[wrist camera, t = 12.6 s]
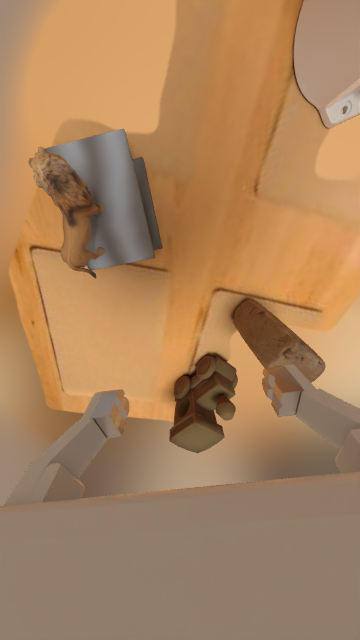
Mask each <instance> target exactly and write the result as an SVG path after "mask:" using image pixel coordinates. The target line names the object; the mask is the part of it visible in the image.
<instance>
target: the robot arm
mask: <svg viewBox="0 0 360 640" xmlns="http://www.w3.org/2000/svg"><path fill="white" fill-rule="evenodd" d="M294 67H295V74H296V78H297V82H298V85H299V87H300V90H301V91H302V93H303V95H304V96H305V98H306V99H307V100H308V101H309V102H310V103H312V104H313V105H314V106H315V107H316V108H317V109H318V110H319V112H320V115H321V118H322V121H323V123H324V125H325V126H326V127H327V128H332V127H334V126H336V125H338V124H341V123H343V122H345V121H347V120H349V119H351V118H353V117H355V116H357V115H359V114H360V0H304V2H303V5H302V8H301V11H300V15H299V19H298V23H297V28H296V34H295V42H294ZM342 109H343V114H342ZM263 375H264V378H263V379H262V385H263V389H264V392H265V394H266V396H267V397H268V398H270V399H271V400H272V406H273V408H274V410H275V412H276V413H277V415H278V417H281V416H292V415H296V417H298V418H299V419H300V420H302V421H303V422H304V423H305V424H307V425H308V426H309V427H310V428H312V429H313V430H314V431H315V432H317V433H318V434H319V435H321V436H322V437H323V438H325V439H326V440H327V441H328V442H330V443H331V444H332V445H333V446H335V447H336V448H337V449H338V450H340V451H339V453H338V455H337V457H336V459H335V464H336V465H337V467H338V468H339V469H340V471H341V473H340V474H330V475H320V476H310V477H300V478H290V479H289V478H288V479H278V480H268V481H257V482H247V483H237V484H227V485H216V486H207V487H196V488H185V489H175V490H164V491H155V492H145V493H134V494H123V495H114V496H104V497H93V498H83V499H81V498H82V495H83V492H84V489H85V487H84V485H83V484H82V483H81V482H80V481H79V480H78V478H79V477H80V476H81V474H82V473H83V472H84V470H85V469H86V467H87V466H88V465H89V463H90V462H91V461H92V459H93V458H94V457H95V455H96V454H97V453H98V451H99V450H100V448H101V447H102V446H103V444H104V443H105V442H106V440H107V438H112V437H119V436H122V434H123V431H124V427H125V421H124V419H125V418H126V417H127V416H128V412H129V401H128V399H127V398H126V397H124V394H125V393H124V391H123V390H112V391H104V392H97V393H95V394H94V396H93V398H92V400H91V401H90V403H89V405H88V407H87V409H86V411H85V413H84V415H83V417H82V419H81V420H80V421H77V422H76V423H75V424H74V425H73V426H72V427H71V428H70V429H68V430H67V431H66V432H65V433H64V434H63V435H62V436H61V437H60V438H59V439H58V440H56V442H54V443H53V444H52V445H51V446H50V447H49V448H48V449H47V450H46V451H45V452H43V454H41V455H40V456H39V457H38V458H37V459H36V460H35V461H34V462H32V463H31V464H30V465H29V467H28V468H27V470H26V471H25V473H24V475H23V476H22V478H21V479H20V481H19V483H18V484H17V485H16V487H15V489H14V490H13V492H12V493H11V495H10V497H9V498H8V500H7V501H6V503H5V504H4V506H0V640H360V409H359V408H357V407H355V406H353V405H351V404H349V403H347V402H345V401H343V400H341V399H339V398H337V397H335V396H333V395H331V394H329V393H327V392H325V391H323V390H321V389H316V388H315V387H314V386H313V385H312V384H311V382H310V381H309V380H308V379H307V378H306V377H305V376H304V375H303V374H302V373H301V372H300V371H299V369H298V368H297V367H296V366H295V365H293V364H292V365H285V366H278V367H272V368H265V369H264V370H263Z"/></svg>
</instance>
